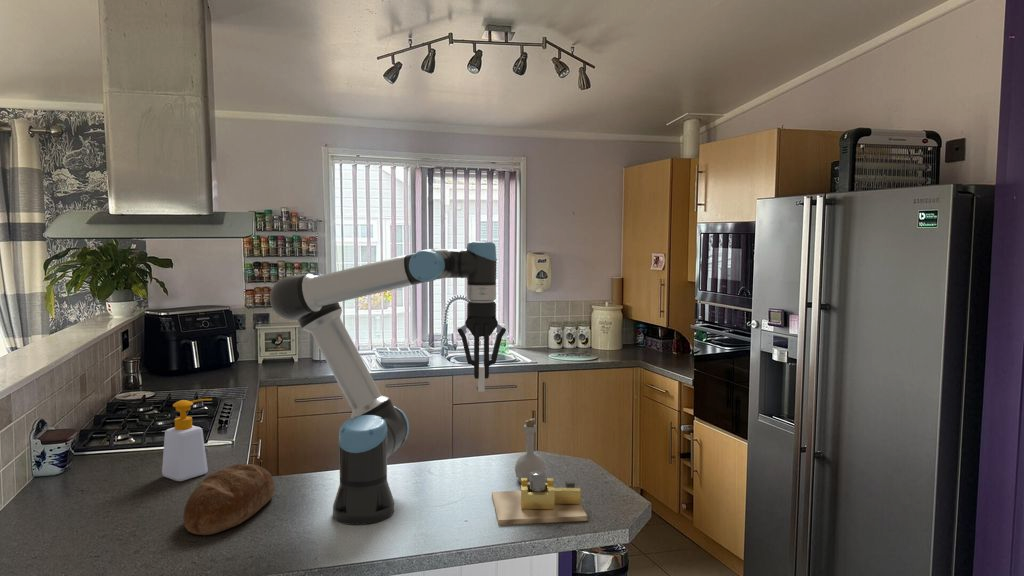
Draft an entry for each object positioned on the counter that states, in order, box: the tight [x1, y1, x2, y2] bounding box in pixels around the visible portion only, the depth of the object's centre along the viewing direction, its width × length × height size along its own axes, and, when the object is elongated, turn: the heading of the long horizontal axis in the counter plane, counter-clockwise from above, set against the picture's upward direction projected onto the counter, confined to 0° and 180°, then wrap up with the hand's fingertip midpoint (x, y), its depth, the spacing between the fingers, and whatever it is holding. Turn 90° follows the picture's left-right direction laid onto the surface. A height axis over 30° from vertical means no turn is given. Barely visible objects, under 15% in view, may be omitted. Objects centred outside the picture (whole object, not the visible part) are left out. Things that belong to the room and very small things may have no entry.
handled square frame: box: [520, 477, 582, 509], centre depth 169 cm, size 15×8×5 cm, turn 89°
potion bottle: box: [514, 417, 546, 483], centre depth 188 cm, size 9×9×18 cm
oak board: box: [491, 490, 588, 526], centre depth 169 cm, size 22×18×1 cm
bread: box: [182, 463, 276, 536], centre depth 165 cm, size 16×29×11 cm, turn 173°
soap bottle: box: [161, 398, 213, 482], centre depth 192 cm, size 10×14×22 cm
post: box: [530, 471, 546, 493], centre depth 169 cm, size 4×4×9 cm
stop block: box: [564, 480, 576, 488], centre depth 172 cm, size 2×2×4 cm
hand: (481, 390), depth 172 cm, fingers closed
